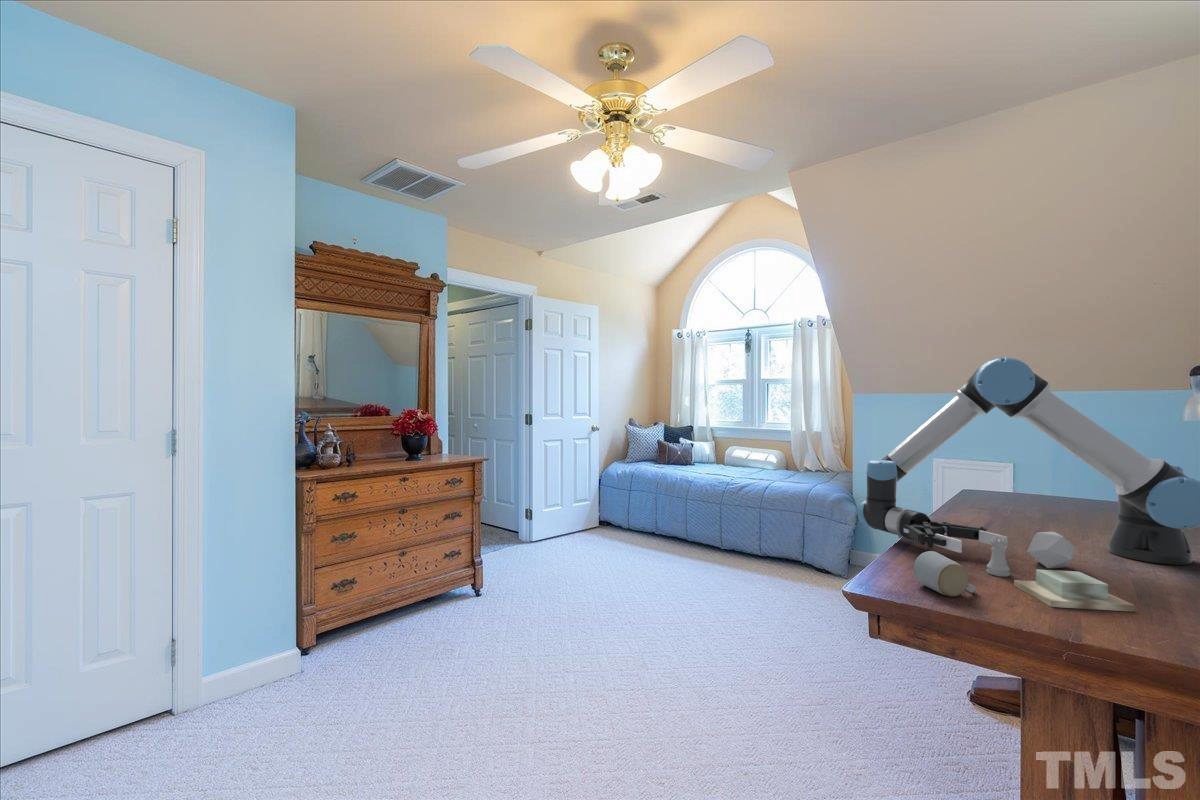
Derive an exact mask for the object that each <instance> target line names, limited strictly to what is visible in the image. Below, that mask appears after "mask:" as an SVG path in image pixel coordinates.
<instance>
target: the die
mask: <svg viewBox="0 0 1200 800" xmlns="http://www.w3.org/2000/svg"><path fill="white" fill-rule="evenodd" d="M1075 550H1076V547H1075V546H1074V545H1073V544H1072V543H1071V542H1070V541H1069V540H1068V539H1067V538H1065V536H1063V535H1061V534H1060V533H1057V532H1055V531H1040V532H1035V534H1034V536H1033V539H1032V540H1031V542H1030V545H1029V546H1028V549H1027V551H1026V552H1027V553H1028V554H1029V555H1031V557H1032V558H1034V559H1035V561H1037V562H1038V563H1039V564H1041V565H1042V566H1043V567H1045V568H1047V569H1057V568H1059V569H1060V568H1066V567H1067V566H1068V564H1069V563H1070V562H1071V560H1072V558H1073V556H1074V553H1075Z"/></svg>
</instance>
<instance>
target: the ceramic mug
mask: <svg viewBox="0 0 1200 800" xmlns="http://www.w3.org/2000/svg"><path fill="white" fill-rule="evenodd" d="M912 570H913V574H914V575H913V576H914V578H915V579H916V581H917V582H918V583H919V584H921V585H923V586H925V587H927V588H929V589H931V590H933V591H935V592H937V593H939V594H941V595H943V596H946V597H958V596H960V595H962V594H963V593H964V592H966V591H967V592H969V593H971V594H973V593H974V592H975V589H976V586H975V585H973V584H971V583H969V582H970V579H969V578H970V577H969V574H968V571H967V570H966V568H964V566H962V565H961V564H959V563H958V562H957V561H955V560H953V559H950V558H948V557H946V556H945V555H943V554H941V553H939V552H937V551H934V550H929V551H925V552H922V553H920V554H919V555H918V556H917V557H916V559H915V561H914V563H913V569H912Z"/></svg>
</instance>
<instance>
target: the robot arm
mask: <svg viewBox="0 0 1200 800" xmlns="http://www.w3.org/2000/svg"><path fill="white" fill-rule="evenodd" d="M1050 387H1051V386H1050V382H1048V381H1046V380H1045V379H1044V378H1043V377H1041V376H1039V375H1038V374H1037V373H1035V372H1034V371H1033V370H1032V368H1031V367H1030V366H1029V365H1028V364H1026V362H1023V360H1019V359H1017V358H1012V357H1008V356H1007V357H1005V356H1003V357H996V358H992V359H990V360H988V361H986V362H985V363H983V364H982V365H980V366H979V367H977V369H975V371H974V372H973V374H972V375H971V376H970V377H969V379H967V380H966V382H965V383H963V384H962V386H961V387H959V388H958V389H957V390H956V396H954V397H953V398H952V399H951V400H950V401H949V402H947V403H946V404H945V405H944V406H943V407H942V408H941V409H939V410H938V411H937V412H935V413H934V414H933V415H932V416H931V417H930V418H928V420H926V421H925V422H924V423H923V424H922V425H920V426H919V427H918V428H917V429H916V430H915V431H914V432H912V433H911V434H910V435H908V436H907V437H906V438H905V439H904V440H903V441H901V443H899V445H897V446H896V447H894V448H893V450H891V451H890V452H889V453H888V454H887V455H885V456H884V457H883V458H882V459H873V460H872V459H871V460H868V462H867V463H866V499H865V500H863V501H862V502H861V503H860V504H859V507H858V509H857V517H858V519H859V521H860V523H862V524H863V525H864V526H866V527H869V528H871V529H874V530H878V531H883V532H886V533H889V534H892V535H896V536H897V537H898V538H899V539H901V538H905V539H907V540H912V541H915V542H916V543H918V544H919V545H921V546H923V545H927V548H929V549H934V546H935V547H939V548H942V549H945V550H949V551H953V552H956V553H960V554H961V553H963V540H961V539H967V540H972V541H973V540H974V541H978V542H979V543H983V544H986V545H990V546H992V544H991V543H990V541H991V540H992V537H994V539H995V537H997V539H999V538H1002V540H1003V539H1005V541H1006V543H1007V545H1006V546H1005V549H1007V548H1008V536H1005V535H1002V534H997V533H994V532H989V531H987V529H986V528H985V527H983V526H979V527H975V526H968V525H961V524H956V523H950V522H946V521H943V522H938V521H933V520H931V519H930V517H929V516H928V515H927V514H926V513H924V512H920V511H917V510H913V509H909V508H905V507H901V506H900V507H899V506H897V485H898V484H897V483H898V482H899V481H900V480H902V479H903V478H904V477H905V476H907V474H909V473H910V471H912V470H914V468H916V467H918V465H919V464H921V463H922V462H923V461H925V460H926V459H927V458H928V457H929V456H931V455H932V454H933V453H934V452H936V451H937V450H938V449H939V448H940V447H942V446H943V445H944V444H945V443H947V442H948V441H949V440H950V439H951V438H953V437H954V436H955V435H957V433H959V432H960V431H961V430H963V429H964V428H965V427H966V426H968V424H970V423H971V422H972V421H973V420H975V419H976V418H977V417H978V416H981V415H983V416H984V415H985V416H986V415H987V414H988V413H990V411H992V410H993V409H994V408H997V409H998V410H999V411H1001V412H1002V413H1004V414H1005V415H1007V416H1008V417H1010V418H1011V419H1017V418H1021V419H1023V420H1024V421H1026V422H1028V423H1029V424H1030V425H1032V426H1033V427H1034V428H1036V429H1037V430H1039V431H1040V432H1042V433H1043V434H1045V435H1046V436H1047V437H1049V438H1050V439H1051V440H1053V441H1054V442H1055V443H1057V444H1059V445H1060V446H1061V447H1063V448H1064V449H1065V450H1066V451H1068V452H1069V453H1071V454H1073V455H1074V456H1075V457H1077V458H1078V459H1079V460H1081V461H1082V462H1084V463H1085V464H1086V465H1088V466H1089V467H1091V468H1092V469H1094V470H1095V471H1096V472H1098V473H1099V474H1100V475H1102V476H1103V477H1105V478H1106V479H1108V480H1109V481H1110V482H1112V483H1113V484H1114V485H1115V493H1116V494H1117V495H1118V498H1117V505H1118V506H1117V507H1118V508H1117V509H1118V511H1117V515H1118V516H1117V523H1116V526H1115V528H1114V529H1113V531H1112V534H1111V536H1110V538H1109V541H1108V548H1107V549H1108V550H1107V551H1108V552H1109V553H1110V554H1114V555H1117V556H1120V557H1123V558H1127V559H1131V560H1137V561H1141V562H1148V563H1154V564H1163V565H1174V566H1175V565H1176V566H1177V565H1178V566H1179V565H1181V566H1182V565H1183V566H1184V565H1191V564H1192V563H1193V552H1192V550H1191V548H1190V545H1189V542H1188V540H1187V537H1186V536H1185V532H1184V530H1189V529H1193V528H1198V527H1200V480H1197V479H1196V478H1193V477H1189V476H1187V475H1186V474H1185V473H1184V469H1183V468H1182V467H1180V466H1178V465H1171V464H1170V463H1168V462H1167V461H1165V460H1163V459H1162V458H1148V457H1147V456H1145V455H1143V454H1142V453H1140V452H1139V451H1137V450H1136V449H1134V448H1133V447H1131V446H1130V445H1129V444H1127V443H1126V442H1124V441H1123V440H1122V439H1120V438H1118V437H1117V436H1115V435H1114V434H1113V433H1111V432H1109V431H1108V430H1107V429H1106V428H1104V427H1102V426H1101V425H1099V424H1098V423H1096V422H1095V421H1093V420H1092V419H1090V418H1089V417H1088V416H1086V415H1084V414H1083V413H1082V412H1080V411H1079V410H1077V409H1076V408H1074V407H1073V406H1072V405H1070V404H1069V403H1068V402H1065V401H1064V400H1063V399H1061V398H1060V397H1058V396H1057V395H1055V394H1054V393H1052V391H1051V388H1050ZM957 538H958V539H957ZM926 543H927V544H926Z"/></svg>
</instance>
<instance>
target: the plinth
mask: <svg viewBox="0 0 1200 800" xmlns="http://www.w3.org/2000/svg"><path fill="white" fill-rule="evenodd" d="M1013 586H1014V587H1015V588H1017V589H1019V590H1021V591H1022V592H1024V593H1026V594H1027V595H1029V596H1031V597H1032V598H1035V599H1036V600H1038V601H1040V602H1042V603H1044V604H1045V605H1047V606H1049V607H1050V608H1064V609H1066V608H1067V609H1081V610H1084V609H1085V610H1098V611H1099V610H1103V611H1115V612H1116V611H1119V612H1135V605H1134V604H1133V603H1131V602H1128V601H1126V600H1125V599H1122V598H1120V597H1118V596H1115V595H1113V594H1111V593H1109V584H1108V583H1106V582H1103V581H1101V580H1099V579H1096V578H1094V577H1093V576H1089V575H1088V574H1086V573H1083V572H1081V571H1075V570H1074V571H1072V570H1055V569H1054V570H1053V569H1035V580H1019V579H1013Z"/></svg>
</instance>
